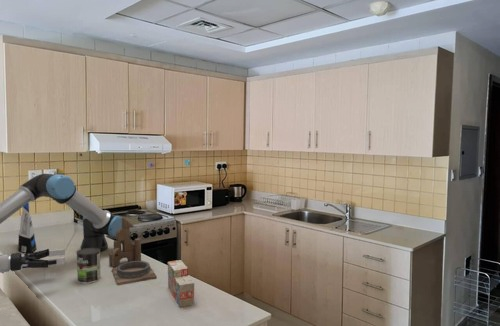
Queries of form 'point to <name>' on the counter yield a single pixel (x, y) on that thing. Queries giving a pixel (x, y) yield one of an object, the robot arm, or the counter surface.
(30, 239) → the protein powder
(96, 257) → the coffee can
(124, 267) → the jig
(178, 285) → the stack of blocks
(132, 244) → the wooden toy
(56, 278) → the counter surface
